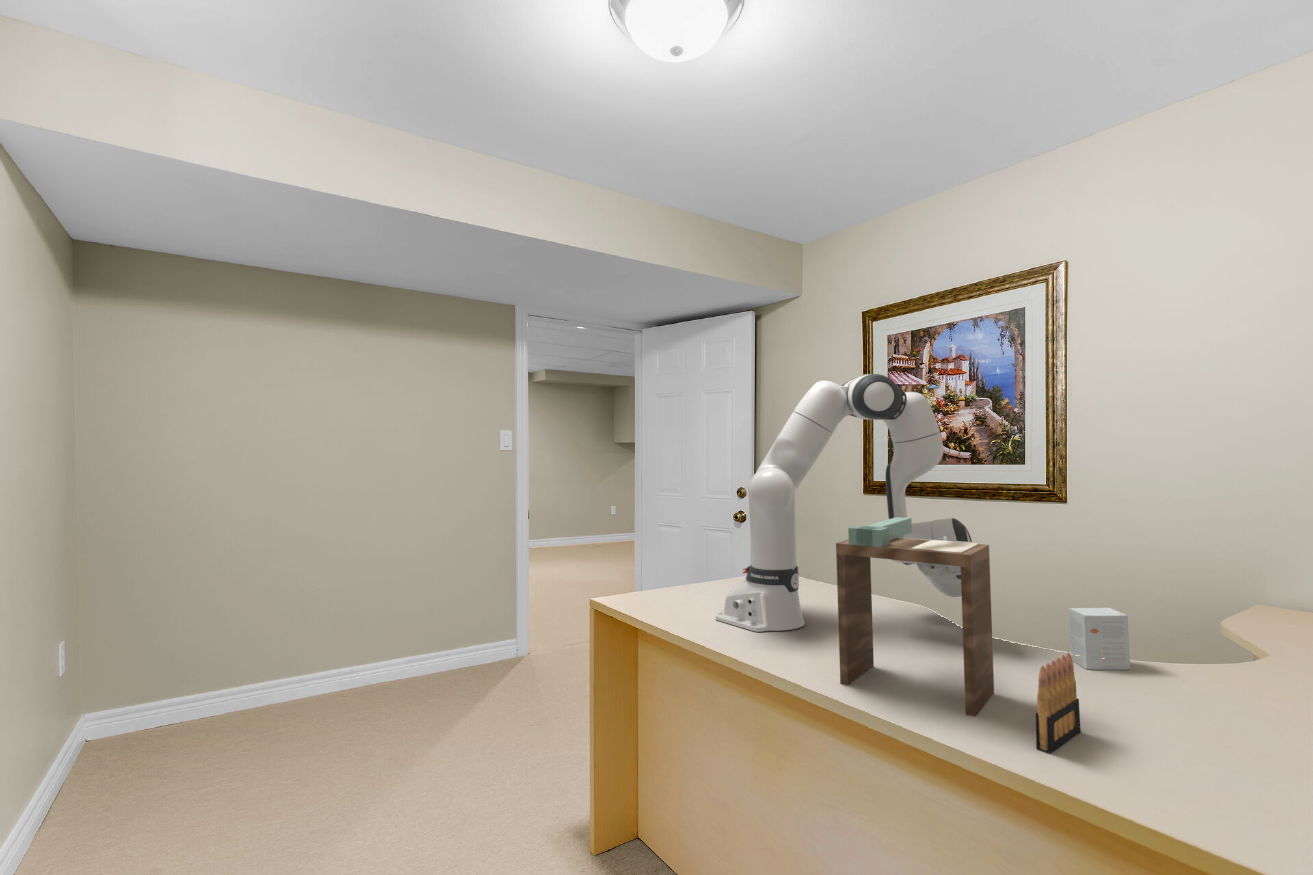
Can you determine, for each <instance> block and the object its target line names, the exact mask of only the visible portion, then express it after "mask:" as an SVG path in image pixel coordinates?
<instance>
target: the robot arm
mask: <svg viewBox="0 0 1313 875" xmlns="http://www.w3.org/2000/svg"><path fill="white" fill-rule="evenodd" d="M926 397H927V396H925V395H924V394H922V393H919V392H918V391H917V392H916V391H907V392H905V391H904V390H903V389H902V388H900V387H899V385H898V384H896V383H895V382H894V381H893V380H892V379H891V378H889V377H887V376H886V375H884V374H879V373H874V374H873V373H865V374H862V375H859V376H856V377H854V378H851V379H850V380H848V381H846V382H845V383H843V384H841V385H840V384H838V383H836V382H834V381H830V380H819V381H817V382H815V383H814V384H813V385H812V386H811V387H810V389H808V391H807V392H806V393H805V394H804V395H803V397H802V398H801V399H800V401H799V402H798V404H797V405H796V406H795V408H794V409H793V411H792V412H791V414H790V416H789V418H788V419H787V421H786V423H785V424H784V426H783V427H782V429H781V431H780V432H779V433H778V435H777V437H776V438H775V440H774V441H773V444H772V445H771V448H770V449H769V450H768V452H767V453H766V455H765V457H764V458H763V460H762V462H761V463H760V465H759V467H758V468H757V470H756V472H755V473H754V474H753V476H752V477H751V478H750V481H749V484H748V487H747V488H748V489H747V493H748V494H747V495H748V507H749V508H748V512H749V513H748V514H749V527H750V528H749V529H750V550H751V551H750V553H751V555H750V557H751V560H750V561H751V564H750V565H749V566H747V567H746V568H743V569H742V571H743V572H742V574H746V576H745V580H744V581H742V582H741V583H739V584H738V585H737V586H736V587H735V588H733V589H732V590H730V592H728V593H727V594H726V597H725V602H724V609H722V610H720V611H718V612H717V613H716V614H715V620H716V621H719V622H722V623H726V624H729V625H732V626H736V627H740V628H742V629H746V630H749V631H752V632H756V633H758V632H761V633H762V632H768V631H770V632H772V631H775V632H776V631H790V630H796V629H799V628H802V627H804V626H805V624H806V622H805V620H804V616H803V613H802V612H803V611H802V607H801V601H800V596H799V587H800V586H799V585H800V582H799V580H800V577H799V566H798V565H797V544H796V543H797V542H796V540H797V538H796V502H795V500H796V499H795V498H796V497H795V496H796V494H795V493H796V491H797V490H798V487H799V486H801V483H802V482H803V480H804V479H805V477H806V476H807V474H808V473H809V471H811V468H812V467H813V465H814V464H815V463H816V461H817V460H818V458H819V456H820V455H821V453H822V451H823V450H824V448H825V447H826V445H827V444H828V442H829V440H830V439H831V437H832V436H833V434H834V432H835V430H836V429H837V427H838V425H839V424H840V423H841V421H842V420H844V419H845V418H846V417H848V416H850V417H853V418H854V417H855V418H859V419H862V420H869V421H870V420H872V421H873V420H881V421H882V422H884V423H885V425H886V427H887V428H888V429H887V430H889V433H890V439H891V442H892V446H893V456H892V460H891V461H890V462H889V463H888V464H887V465H886V469H885V492H886V494H885V495H886V504H887V505H886V506H887V515H888V516H887V517H888V519H892V518H896V517H901V518H908V514H907V502H906V501H907V500H906V490H907V487H908V485H910V484H911V483H912V482H914V481H915V480H916V479H918V478H920V477H922V476H924V475H926V474H927V473H928V472H930V471H931V470H933V469H934V468H936V466H937V465H938V464H939V463H940V462H941V460H942V458H943V455H944V443H943V438H942V433H941V431H940V427H939V424H938V420H937V418H936V416H935V414H934V411H933V409H932V407H931V405H930V402H929V401H928V399H927V398H926ZM899 538H906V539H919V540H940V541H953V542H967V543H974V542H973V541H972V537H971V534H970V532H969V530H968V528H967V526H966V525H965V524H963V523H962V521H960V520H958V519H956V518H954V517H952V518H942V519H935V520H931V521H922V522H913V523H912V533H910V534H907V535H904V536H901V537H899ZM892 561H893V562H896V563H901V564H903V565H905V566H911V565H916V566H917V568H918V570H919V571H920V572H921V574H922V575H923V576H924V577H925V578H926V579H927V580H928V581H929V582H930V583H931V585H932V586H933V587H935V589H936V590H937V591H939V592H940V593H941V594H943V595H945V596H947V597H950V598H959V597H962V593H961V566H951V565H941V564H931V563H921V562H911V561H901V560H892Z"/></svg>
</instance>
